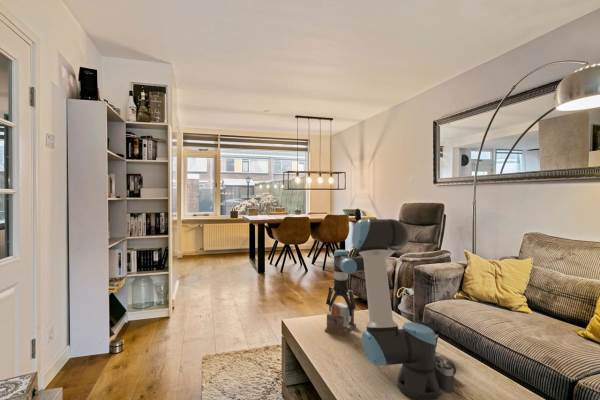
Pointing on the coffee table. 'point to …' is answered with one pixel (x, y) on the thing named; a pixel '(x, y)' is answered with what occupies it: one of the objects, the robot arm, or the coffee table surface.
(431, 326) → the coffee cup
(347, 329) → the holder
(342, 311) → the small box
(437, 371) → the camera
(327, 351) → the coffee table surface
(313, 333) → the coffee table surface
